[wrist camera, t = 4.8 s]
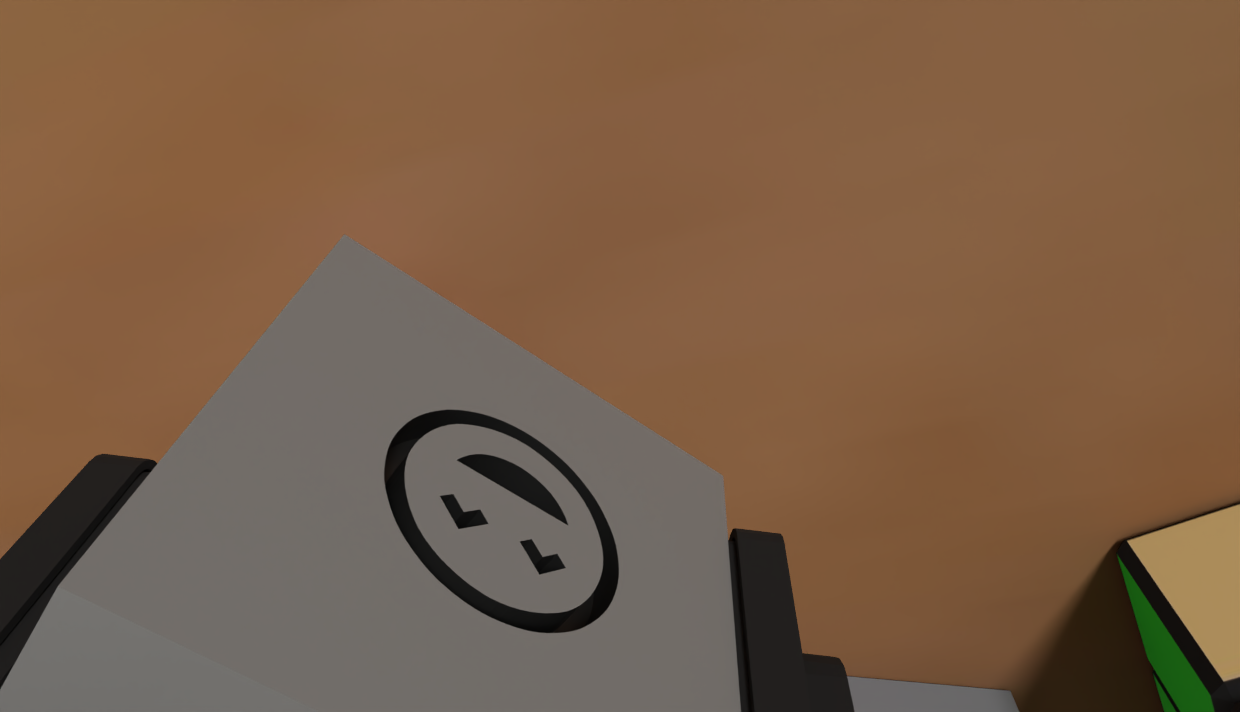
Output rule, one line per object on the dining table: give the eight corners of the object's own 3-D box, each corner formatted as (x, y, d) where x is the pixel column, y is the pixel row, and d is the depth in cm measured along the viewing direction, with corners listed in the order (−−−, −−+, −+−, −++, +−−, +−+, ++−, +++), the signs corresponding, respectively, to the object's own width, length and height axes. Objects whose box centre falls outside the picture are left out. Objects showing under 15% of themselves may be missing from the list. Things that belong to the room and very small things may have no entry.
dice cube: (497, 697, 13) (406, 1141, 8) (163, 526, 11) (-146, 950, 7) (723, 475, 11) (757, 921, 6) (345, 234, 9) (58, 585, 5)
